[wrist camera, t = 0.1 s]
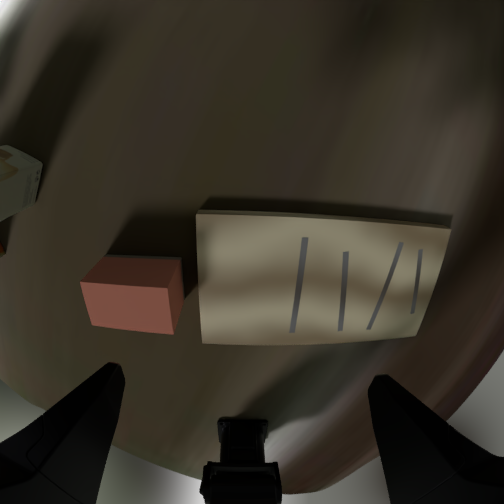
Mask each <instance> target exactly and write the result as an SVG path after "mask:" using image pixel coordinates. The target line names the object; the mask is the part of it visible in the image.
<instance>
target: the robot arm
mask: <svg viewBox="0 0 504 504" xmlns="http://www.w3.org/2000/svg"><path fill="white" fill-rule="evenodd" d="M124 387H125V377H124V374H123V371H122V368H121V365H120V364H118V363H114V362H108V363H107V364H105V365H104V366H103V367H102V368H100V369H99V370H98V371H97V372H95V373H94V374H93V375H91V376H90V377H89V378H88V379H86V380H85V381H84V382H83V383H81V384H80V385H79V386H78V387H76V388H75V389H74V390H73V391H71V392H70V393H69V394H67V395H66V396H65V397H64V398H62V399H61V400H60V401H59V402H57V403H56V404H55V405H54V406H52V407H51V408H50V409H49V410H47V411H46V412H45V413H44V414H43V415H41V416H40V417H39V418H37V419H36V420H34V421H33V422H32V423H30V424H29V425H28V426H26V427H25V428H24V429H22V430H21V431H19V432H17V433H16V434H14V435H13V436H11V437H9V438H7V439H6V440H4V441H2V442H1V443H0V504H96V500H97V496H98V492H99V488H100V483H101V479H102V475H103V471H104V468H105V464H106V460H107V457H108V453H109V450H110V446H111V443H112V439H113V436H114V433H115V429H116V426H117V422H118V418H119V413H120V408H121V403H122V397H123V392H124ZM368 399H369V405H370V411H371V418H372V424H373V429H374V434H375V437H376V441H377V445H378V449H379V453H380V457H381V462H382V465H383V470H384V474H385V479H386V483H387V488H388V493H389V498H390V503H391V504H504V457H499V456H496V455H493V454H491V453H490V452H488V451H486V450H485V449H483V448H481V447H480V446H478V445H477V444H475V443H474V442H472V441H471V440H469V439H468V438H466V437H465V436H463V435H462V434H460V432H458V431H457V430H456V429H454V428H453V427H452V426H451V425H449V424H448V423H447V422H446V421H444V420H443V419H442V418H441V417H439V416H438V415H437V414H436V413H434V412H433V411H432V410H431V409H430V408H428V407H427V406H426V405H425V404H423V403H422V402H421V401H420V400H418V399H417V398H416V397H415V396H414V395H412V394H411V393H410V392H409V391H407V390H406V389H405V388H404V387H402V386H401V385H400V384H399V383H398V382H396V381H395V380H394V379H393V378H391V377H390V376H389V375H388V374H377V375H376V376H375V377H374V379H373V381H372V383H371V385H370V386H369V389H368ZM217 425H218V435H219V442H220V443H221V449H220V462H212V461H208V463H207V465H205V466H204V468H203V477H202V482H201V486H200V494H202V495H203V498H204V499H205V504H281V501H282V486H281V480H280V474H279V468H278V462H273V463H265V454H264V443H265V438H266V432H267V427H268V421H266V420H218V422H217Z"/></svg>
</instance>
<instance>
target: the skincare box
mask: <svg viewBox="0 0 504 504" xmlns="http://www.w3.org/2000/svg"><path fill="white" fill-rule="evenodd" d="M42 166H43V164H42V162H40V161H38V160H37V159H35V158H33V157H31V156H29V155H28V154H26V153H24V152H22V151H20V150H18V149H15V148H13V147H11V146H9V145H3V146H0V221H2V220H4V219H6V218H8V217H10V216H12V215H14V214H16V213H18V212H20V211H22V210H24V209H26V208H28V207H30V206H32V205H34V204H35V199H36V194H37V190H38V185H39V180H40V175H41V171H42Z"/></svg>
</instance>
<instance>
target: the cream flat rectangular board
mask: <svg viewBox="0 0 504 504" xmlns="http://www.w3.org/2000/svg"><path fill="white" fill-rule="evenodd" d="M450 232H451V229H450V228H448V227H446V226H445V225H438V224H429V223H420V222H410V221H399V220H389V219H377V218H365V217H352V216H337V215H322V214H305V213H285V212H262V211H233V210H198V212H197V213H196V237H197V265H198V286H199V303H200V318H201V332H202V343H208V344H232V345H309V344H332V343H349V342H363V341H374V340H385V339H394V338H403V337H411V336H416V334H417V331H418V329H419V327H420V324H421V322H422V319H423V317H424V314H425V312H426V309H427V307H428V304H429V301H430V298H431V296H432V293H433V290H434V287H435V284H436V281H437V278H438V275H439V272H440V269H441V265H442V262H443V259H444V255H445V252H446V248H447V244H448V240H449V236H450Z"/></svg>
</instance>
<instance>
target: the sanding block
mask: <svg viewBox="0 0 504 504" xmlns="http://www.w3.org/2000/svg"><path fill="white" fill-rule="evenodd" d="M80 284H81V288H82V292H83V296H84V299H85V303H86V306H87V310H88V313H89V316H90V320H91V323H92V325H94V326H101V327H109V328H116V329H124V330H133V331H142V332H151V333H162V334H174V331H175V328H176V325H177V322H178V319H179V315H180V312H181V309H182V306H183V303H184V300H185V295H184V283H183V270H182V257H161V256H133V255H107V254H106V255H105V256H104V257H103V258H102V259H101V260H100V261H99V262H98V263H97V264H96V265H95V266H94V267H93V268H92V269H91V270H90V271H89V273H88V274H87V275H86V276H85V277H84V278H83V279H82V280H81V281H80Z"/></svg>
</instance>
